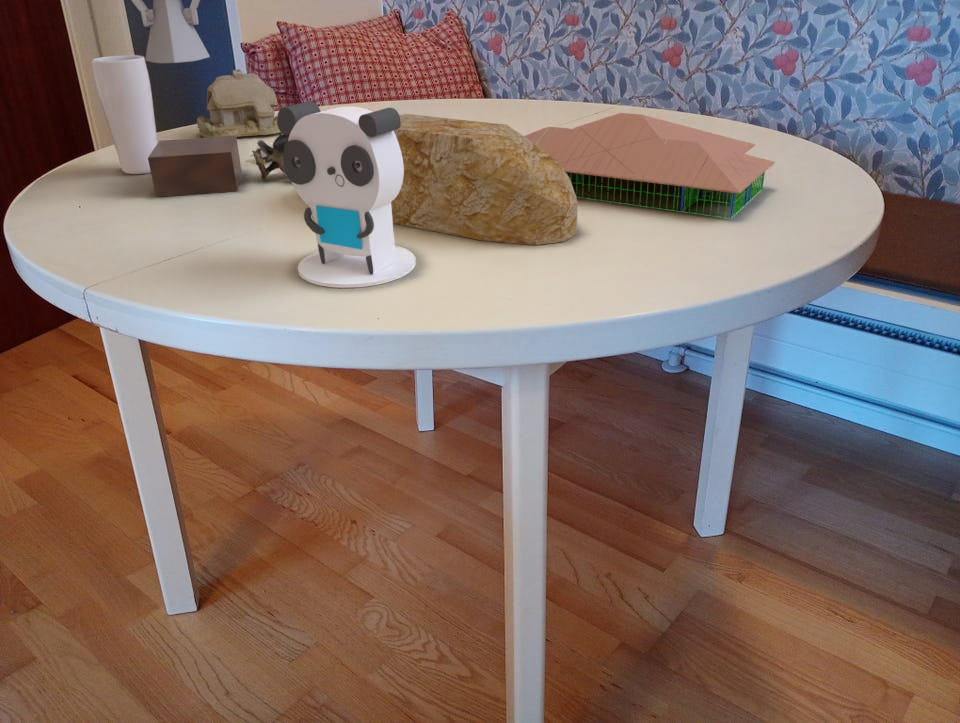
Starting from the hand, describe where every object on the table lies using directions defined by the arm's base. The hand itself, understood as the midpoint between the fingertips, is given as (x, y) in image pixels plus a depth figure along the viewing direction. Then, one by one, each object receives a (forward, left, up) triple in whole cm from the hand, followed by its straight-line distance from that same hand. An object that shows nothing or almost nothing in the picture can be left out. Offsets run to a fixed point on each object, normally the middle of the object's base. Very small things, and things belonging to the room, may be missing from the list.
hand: (171, 25), depth 99 cm
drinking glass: (-9, +10, -20) cm, 24 cm away
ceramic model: (+4, +32, -20) cm, 38 cm away
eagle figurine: (+12, -1, -20) cm, 23 cm away
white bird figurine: (+9, +10, -20) cm, 24 cm away
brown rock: (+28, -21, -20) cm, 40 cm away
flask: (0, 0, -4) cm, 4 cm away
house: (+55, -14, -20) cm, 60 cm away
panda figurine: (+18, -36, -20) cm, 45 cm away
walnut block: (0, 0, -20) cm, 20 cm away
